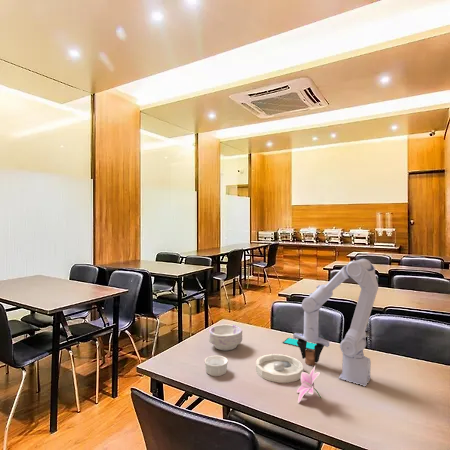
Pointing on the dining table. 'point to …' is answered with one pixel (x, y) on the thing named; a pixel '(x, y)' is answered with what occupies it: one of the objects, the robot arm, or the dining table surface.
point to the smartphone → (294, 343)
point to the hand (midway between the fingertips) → (310, 359)
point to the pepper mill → (310, 357)
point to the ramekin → (216, 365)
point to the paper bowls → (225, 336)
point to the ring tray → (275, 375)
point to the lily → (307, 383)
